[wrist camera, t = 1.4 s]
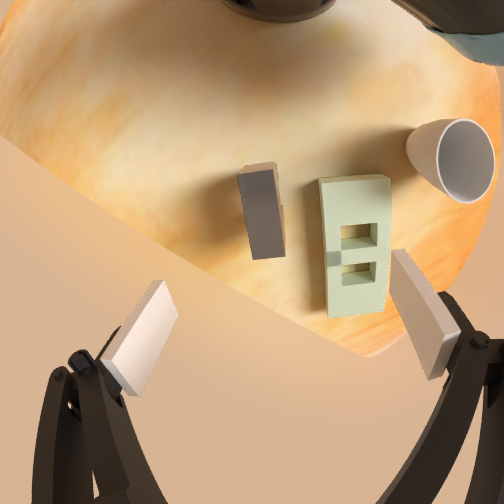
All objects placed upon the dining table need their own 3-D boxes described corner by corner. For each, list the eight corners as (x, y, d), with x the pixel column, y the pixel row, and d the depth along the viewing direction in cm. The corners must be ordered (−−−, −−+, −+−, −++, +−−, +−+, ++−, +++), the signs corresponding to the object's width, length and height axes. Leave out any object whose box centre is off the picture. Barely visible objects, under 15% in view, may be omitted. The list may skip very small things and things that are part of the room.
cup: (418, 192, 29) (460, 219, 20) (382, 142, 27) (421, 151, 18) (456, 155, 26) (504, 171, 17) (423, 104, 24) (470, 102, 15)
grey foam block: (249, 161, 30) (236, 174, 22) (275, 157, 29) (272, 169, 21) (260, 225, 33) (252, 259, 25) (284, 222, 33) (285, 256, 25)
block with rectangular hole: (317, 178, 30) (321, 183, 27) (381, 173, 29) (390, 178, 26) (325, 305, 37) (328, 318, 35) (378, 298, 36) (383, 310, 33)
